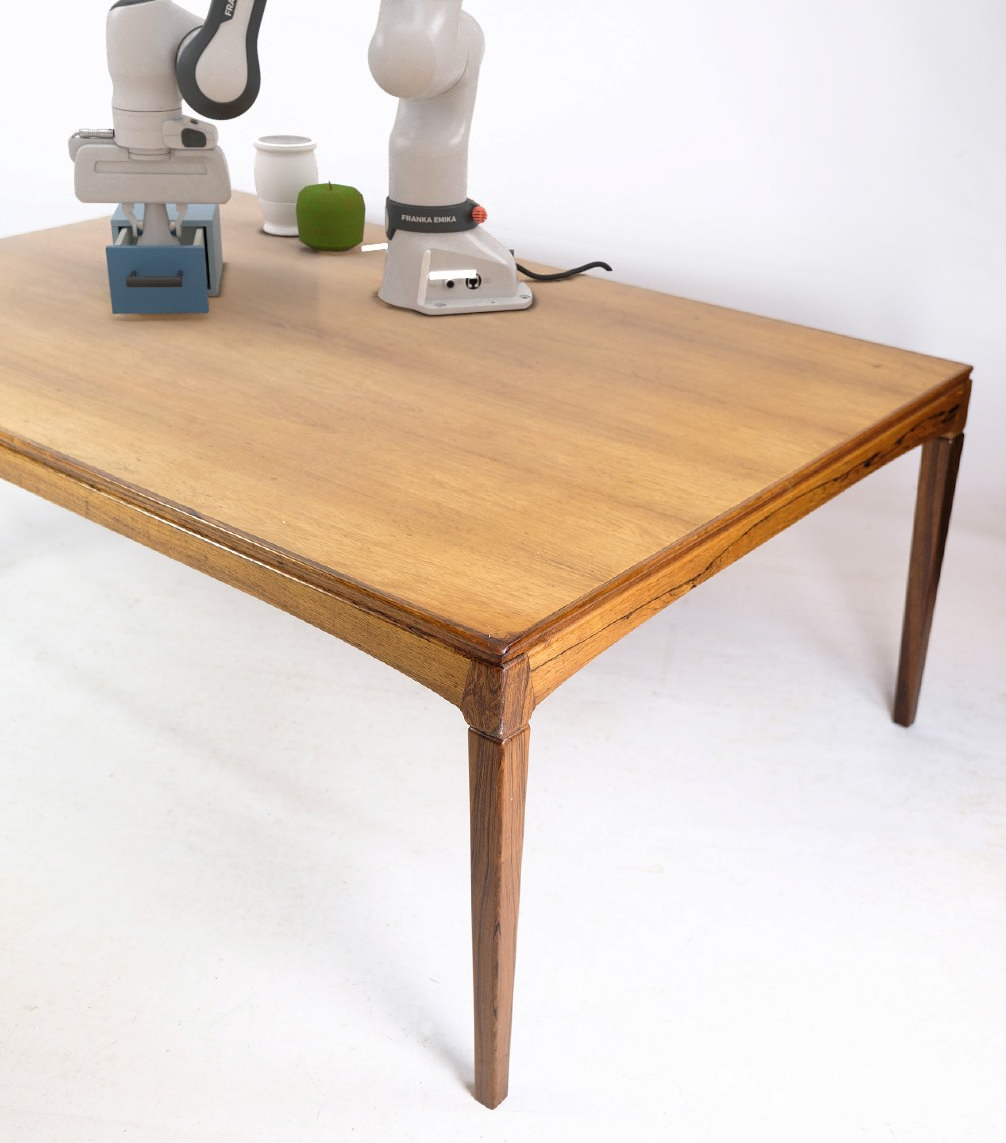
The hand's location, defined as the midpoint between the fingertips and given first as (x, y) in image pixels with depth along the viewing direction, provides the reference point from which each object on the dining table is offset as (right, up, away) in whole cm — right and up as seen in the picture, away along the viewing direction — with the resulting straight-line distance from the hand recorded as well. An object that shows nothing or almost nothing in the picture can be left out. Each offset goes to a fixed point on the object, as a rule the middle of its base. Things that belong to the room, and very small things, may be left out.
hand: (158, 236), depth 175 cm
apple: (+19, +7, +37) cm, 42 cm away
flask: (0, -4, +2) cm, 4 cm away
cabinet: (-2, -2, +17) cm, 18 cm away
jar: (+10, +13, +46) cm, 49 cm away
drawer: (0, -8, +4) cm, 9 cm away
